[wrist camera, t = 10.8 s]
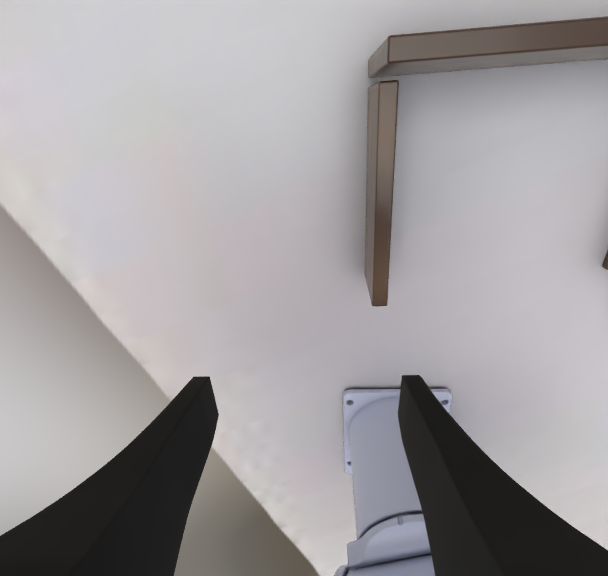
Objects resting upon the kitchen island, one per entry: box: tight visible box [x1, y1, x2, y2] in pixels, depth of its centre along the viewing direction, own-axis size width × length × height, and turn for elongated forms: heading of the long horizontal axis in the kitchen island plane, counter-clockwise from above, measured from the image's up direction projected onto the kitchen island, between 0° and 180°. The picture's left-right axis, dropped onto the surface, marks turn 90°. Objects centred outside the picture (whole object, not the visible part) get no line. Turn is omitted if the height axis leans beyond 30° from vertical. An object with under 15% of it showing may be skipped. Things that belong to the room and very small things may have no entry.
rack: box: [365, 16, 608, 306], centre depth 16 cm, size 12×15×6 cm
